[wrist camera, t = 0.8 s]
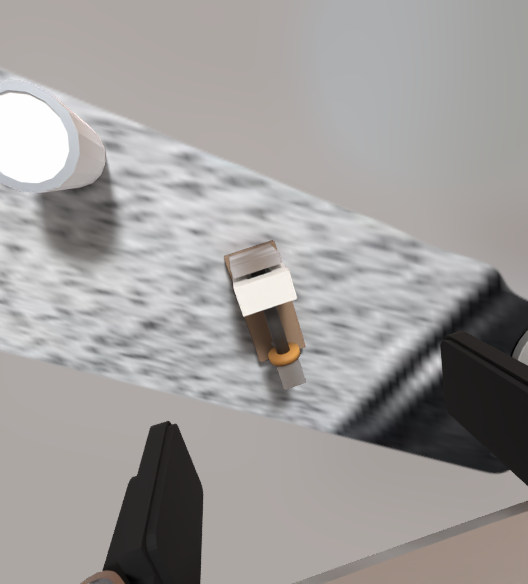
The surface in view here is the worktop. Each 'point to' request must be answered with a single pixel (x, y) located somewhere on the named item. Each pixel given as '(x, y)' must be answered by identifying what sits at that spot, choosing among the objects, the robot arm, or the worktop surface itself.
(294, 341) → the wooden stand
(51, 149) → the shot glass
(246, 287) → the sleeve
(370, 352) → the worktop surface
